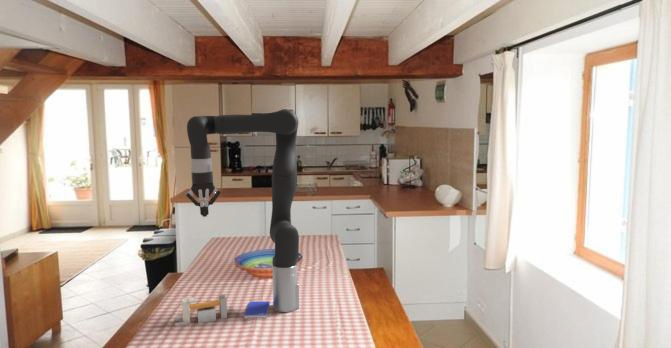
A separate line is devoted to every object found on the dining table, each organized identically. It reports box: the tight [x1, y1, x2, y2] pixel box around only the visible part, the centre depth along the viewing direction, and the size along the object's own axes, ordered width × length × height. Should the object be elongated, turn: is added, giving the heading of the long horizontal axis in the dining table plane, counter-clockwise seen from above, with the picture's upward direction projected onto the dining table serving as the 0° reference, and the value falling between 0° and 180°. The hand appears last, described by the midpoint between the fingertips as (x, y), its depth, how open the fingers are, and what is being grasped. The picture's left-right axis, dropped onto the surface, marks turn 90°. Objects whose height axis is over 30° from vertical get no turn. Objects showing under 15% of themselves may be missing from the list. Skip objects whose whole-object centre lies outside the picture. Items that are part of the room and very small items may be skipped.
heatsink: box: [196, 306, 217, 324], centre depth 168 cm, size 6×6×4 cm
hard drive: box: [243, 301, 271, 319], centre depth 178 cm, size 2×8×12 cm
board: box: [174, 293, 228, 327], centre depth 168 cm, size 19×15×8 cm
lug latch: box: [181, 296, 196, 324], centre depth 166 cm, size 4×4×8 cm
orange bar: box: [189, 299, 221, 311], centre depth 168 cm, size 12×2×2 cm, turn 111°
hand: (204, 216), depth 176 cm, fingers closed
